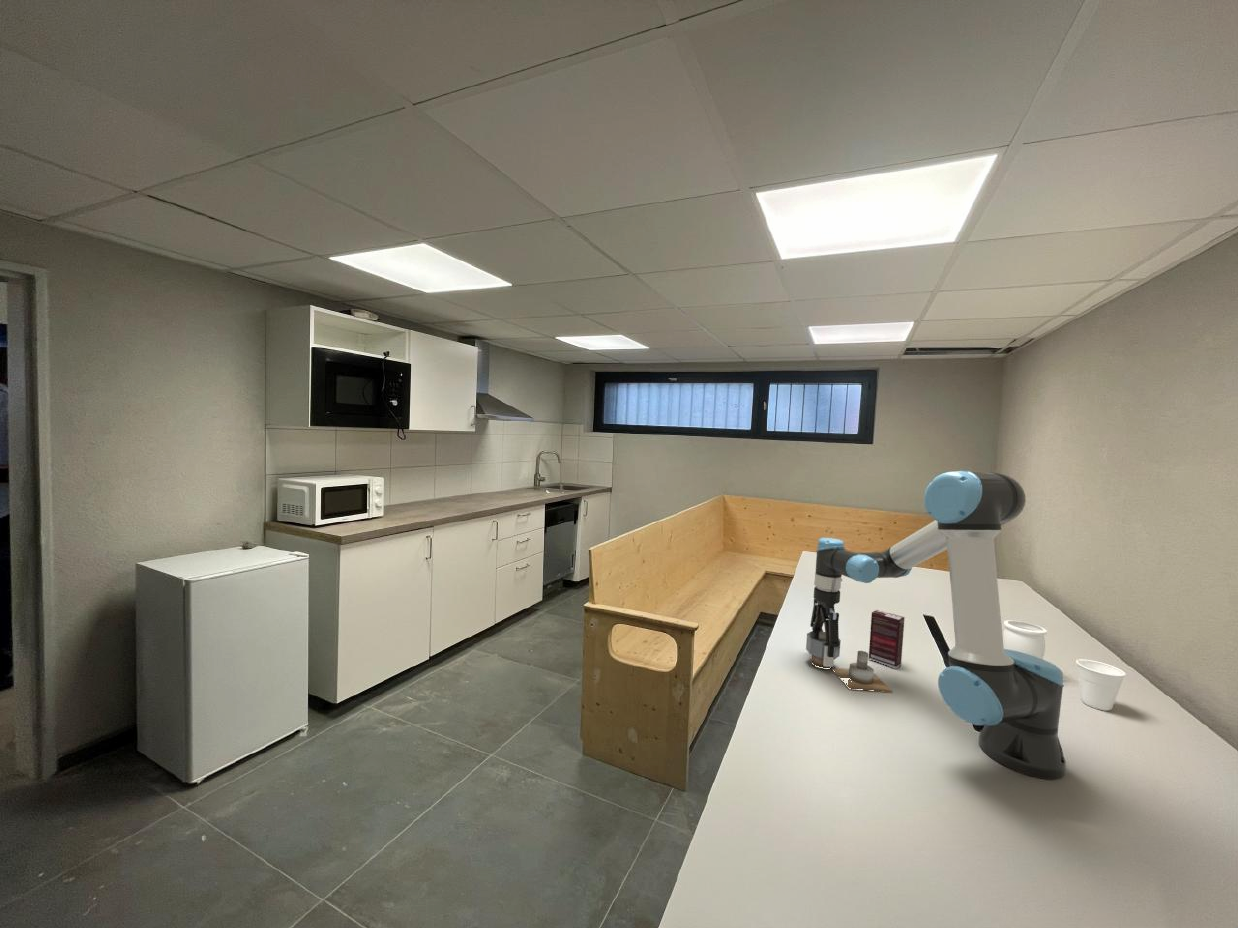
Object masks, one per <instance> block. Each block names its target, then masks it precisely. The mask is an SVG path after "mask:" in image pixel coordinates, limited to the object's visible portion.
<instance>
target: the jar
mask: <svg viewBox="0 0 1238 928" xmlns="http://www.w3.org/2000/svg"><path fill="white" fill-rule="evenodd" d="M1003 626H1004V627H1005V628H1004V629H1003V631H1002V635H1003V645H1004V649H1008V650H1013V651H1018V652H1022V653H1025V654H1029V655H1032V656H1035V657H1038V658H1040V659H1043V658H1044V656H1045V653H1046V640H1045V636H1046V635H1047V633H1048V632H1047V629H1045V628H1044V627H1041V626H1039V625H1036V624H1033V623H1029V622H1025V621H1019V620H1011V619H1010V620H1009V619H1007V620H1004V622H1003ZM1043 660H1044V659H1043Z"/></svg>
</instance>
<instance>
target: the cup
mask: <svg viewBox="0 0 1238 928" xmlns="http://www.w3.org/2000/svg"><path fill="white" fill-rule="evenodd" d="M1075 663H1076V664H1077V673H1078V674H1077V675H1078V679H1079V681H1078V682H1079V689H1080V698H1081V699H1080V700H1081V701H1082V703H1083V704H1084V705H1087V706H1088V707H1090V708H1093V709H1095V710H1098V711H1099V710H1100V711H1104V712H1105V711H1106V712H1109V711H1111V710H1113V708H1114V704H1115V702H1116V698H1117V696H1118V694H1119V691H1120V688H1121V686H1122V684H1123V680H1124V677H1126V675H1127V674H1126V672H1125V671H1124V670H1122V669H1121V668H1118V667H1116V666H1113V665H1111V664H1107V663H1104V662H1100V661H1096V660H1092V659H1085V658H1083V659H1082V658H1081V659H1076V660H1075Z"/></svg>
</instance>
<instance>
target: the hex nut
mask: <svg viewBox="0 0 1238 928" xmlns="http://www.w3.org/2000/svg"><path fill="white" fill-rule="evenodd" d="M819 632H820V631H813V630H812V631H809V632H808V633H806V643H805V644H806V645H805V650H806V651H807V652H808V654H809V655H811V656H812V655H814V656H816V657H819V658H822V659H824V648H825V646H824V644H826V640H823V639H820V638H819ZM840 653H841V639H840V638H839V647H835V650H834V660H836V659H837V658H839V657H840Z"/></svg>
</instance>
